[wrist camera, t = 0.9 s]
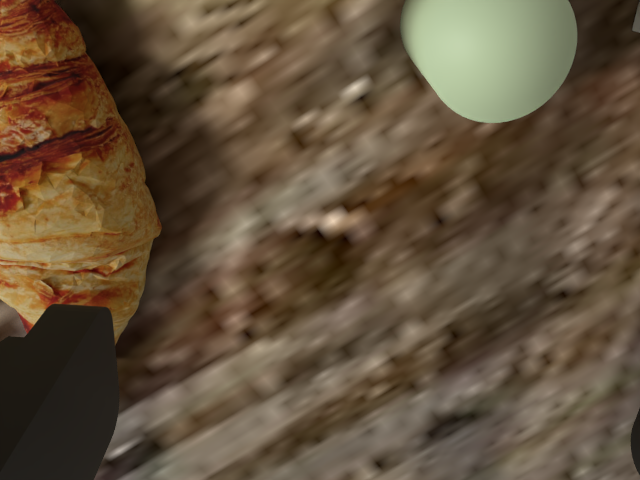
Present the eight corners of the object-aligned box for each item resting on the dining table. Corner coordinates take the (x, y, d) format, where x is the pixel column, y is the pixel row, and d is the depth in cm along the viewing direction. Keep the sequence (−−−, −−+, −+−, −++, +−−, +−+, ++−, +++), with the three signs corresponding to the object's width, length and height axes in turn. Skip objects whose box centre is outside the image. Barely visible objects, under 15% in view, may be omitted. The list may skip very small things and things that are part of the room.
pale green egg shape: (406, -42, 27) (436, -37, 19) (520, -36, 27) (593, -29, 19) (394, 76, 29) (418, 119, 22) (501, 80, 29) (559, 125, 22)
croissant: (158, 324, 39) (196, 401, 33) (-18, 370, 35) (-13, 468, 29) (111, -40, 30) (151, -31, 23) (-139, -38, 25) (-173, -25, 19)
